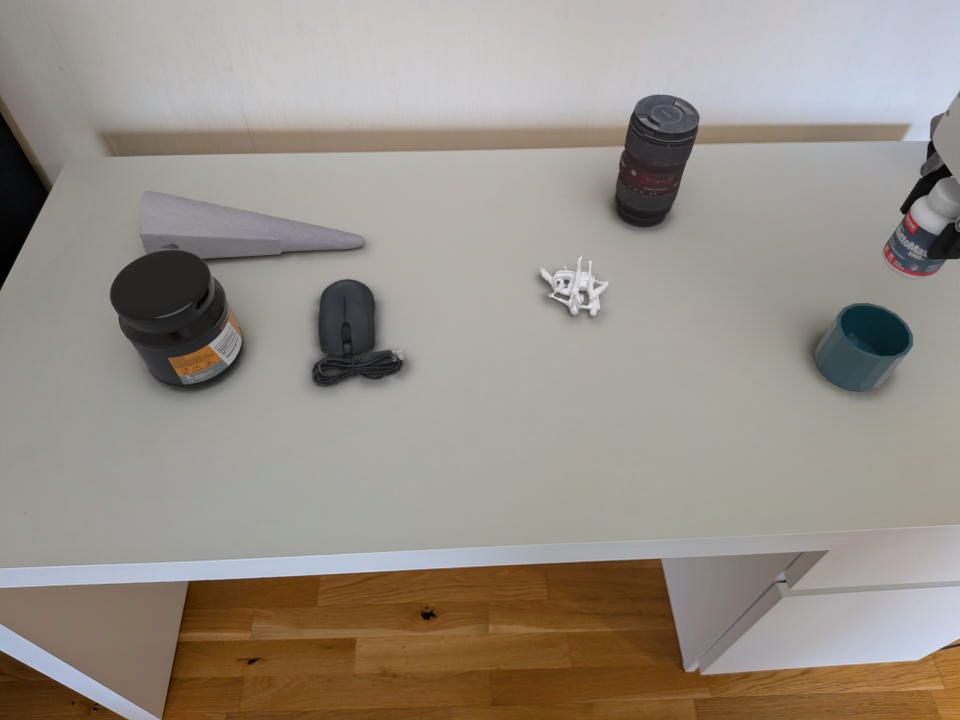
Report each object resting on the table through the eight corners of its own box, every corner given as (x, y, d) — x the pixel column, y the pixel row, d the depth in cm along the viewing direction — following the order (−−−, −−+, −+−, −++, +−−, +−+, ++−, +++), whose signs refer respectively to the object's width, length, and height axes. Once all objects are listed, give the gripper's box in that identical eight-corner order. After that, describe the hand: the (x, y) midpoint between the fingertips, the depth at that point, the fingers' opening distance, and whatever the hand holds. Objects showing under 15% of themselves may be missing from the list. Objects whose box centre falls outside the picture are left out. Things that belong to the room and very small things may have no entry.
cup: (870, 336, 79) (895, 302, 74) (896, 391, 74) (925, 358, 69) (805, 338, 78) (827, 303, 74) (827, 392, 74) (852, 359, 69)
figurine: (606, 322, 80) (539, 318, 80) (602, 273, 84) (538, 269, 84) (612, 306, 77) (543, 302, 77) (607, 256, 82) (541, 252, 82)
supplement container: (259, 370, 75) (228, 297, 65) (163, 410, 72) (115, 339, 62) (231, 307, 80) (198, 232, 71) (140, 341, 77) (93, 267, 68)
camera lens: (643, 240, 88) (670, 141, 76) (598, 207, 92) (617, 108, 80) (684, 214, 91) (716, 115, 79) (639, 183, 95) (664, 84, 83)
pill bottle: (868, 252, 68) (914, 180, 61) (907, 237, 69) (957, 165, 62) (908, 287, 65) (962, 217, 58) (948, 271, 67) (1005, 200, 59)
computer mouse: (388, 280, 83) (384, 257, 80) (406, 374, 75) (403, 353, 72) (305, 293, 82) (298, 270, 79) (314, 391, 73) (307, 370, 70)
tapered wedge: (361, 179, 88) (146, 176, 83) (364, 223, 83) (135, 223, 78) (362, 225, 94) (161, 225, 89) (364, 269, 89) (152, 271, 84)
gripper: (1186, 118, 45) (1012, 301, 59) (1049, -6, 55) (929, 176, 70) (1075, 120, 45) (927, 303, 59) (958, -6, 55) (857, 177, 69)
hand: (929, 232), depth 64 cm, fingers closed on pill bottle, 5 cm apart
